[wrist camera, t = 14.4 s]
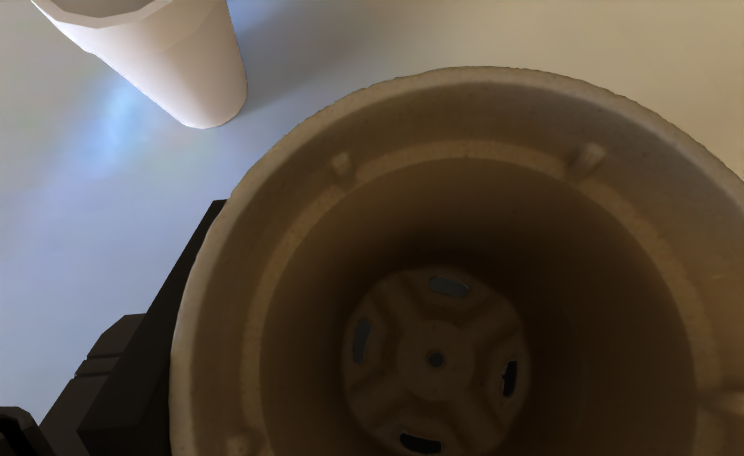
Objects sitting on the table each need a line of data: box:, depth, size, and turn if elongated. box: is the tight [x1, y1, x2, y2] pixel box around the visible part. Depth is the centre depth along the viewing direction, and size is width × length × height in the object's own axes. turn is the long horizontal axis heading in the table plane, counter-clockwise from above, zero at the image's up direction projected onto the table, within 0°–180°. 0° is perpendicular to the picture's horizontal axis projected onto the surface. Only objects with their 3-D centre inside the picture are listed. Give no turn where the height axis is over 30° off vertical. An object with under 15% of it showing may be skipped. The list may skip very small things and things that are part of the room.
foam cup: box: [31, 0, 248, 129], centre depth 30 cm, size 10×9×13 cm
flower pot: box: [168, 66, 744, 456], centre depth 11 cm, size 9×9×9 cm
